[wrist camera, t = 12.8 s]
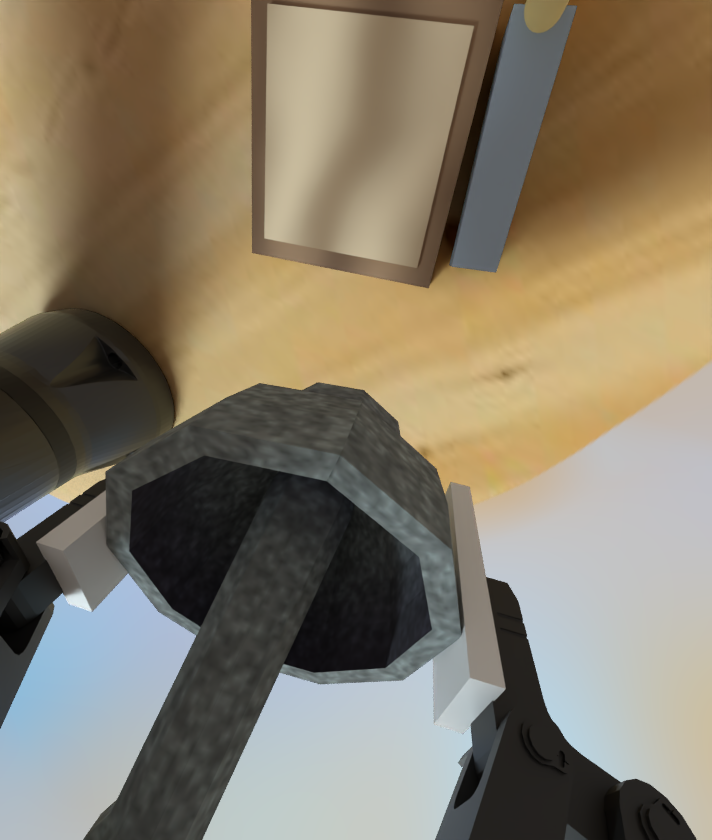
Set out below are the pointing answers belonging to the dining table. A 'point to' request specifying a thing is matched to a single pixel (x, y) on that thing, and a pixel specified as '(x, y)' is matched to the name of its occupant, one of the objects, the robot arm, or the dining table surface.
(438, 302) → the dining table surface
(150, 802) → the mortar and pestle
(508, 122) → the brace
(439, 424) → the dining table surface
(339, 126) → the stand
